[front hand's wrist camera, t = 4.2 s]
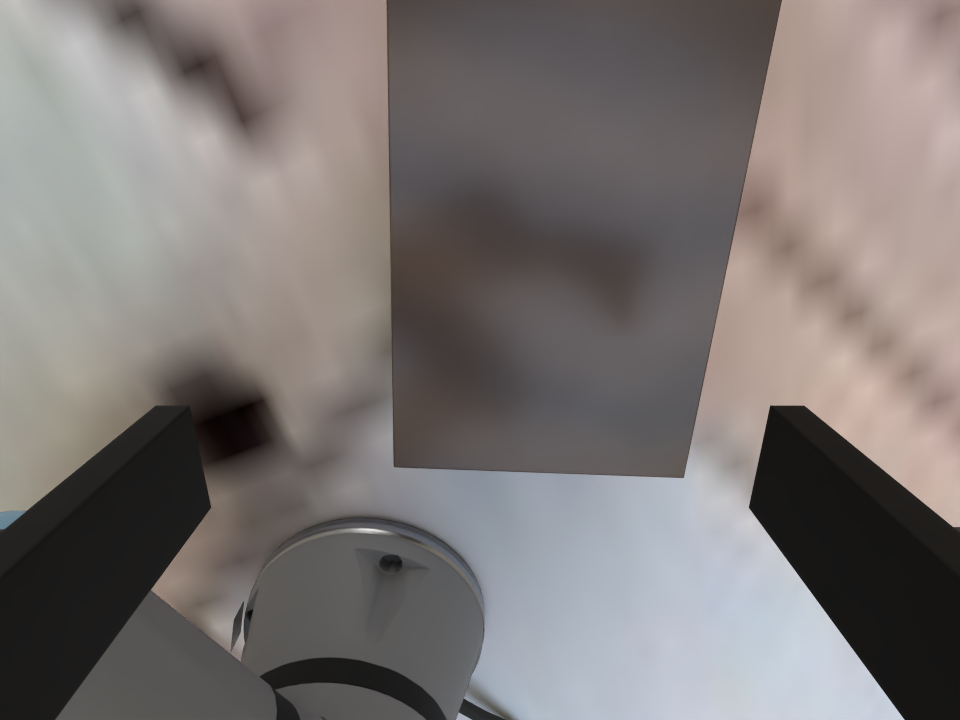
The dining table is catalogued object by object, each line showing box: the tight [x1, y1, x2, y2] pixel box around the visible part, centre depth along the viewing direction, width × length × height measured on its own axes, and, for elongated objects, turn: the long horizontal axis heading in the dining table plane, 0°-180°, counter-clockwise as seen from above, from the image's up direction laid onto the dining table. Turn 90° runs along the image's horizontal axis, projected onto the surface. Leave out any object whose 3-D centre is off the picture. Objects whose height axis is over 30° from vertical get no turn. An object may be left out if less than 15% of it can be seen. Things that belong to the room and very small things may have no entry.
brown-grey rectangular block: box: [387, 0, 782, 478], centre depth 23 cm, size 19×11×11 cm, turn 178°
